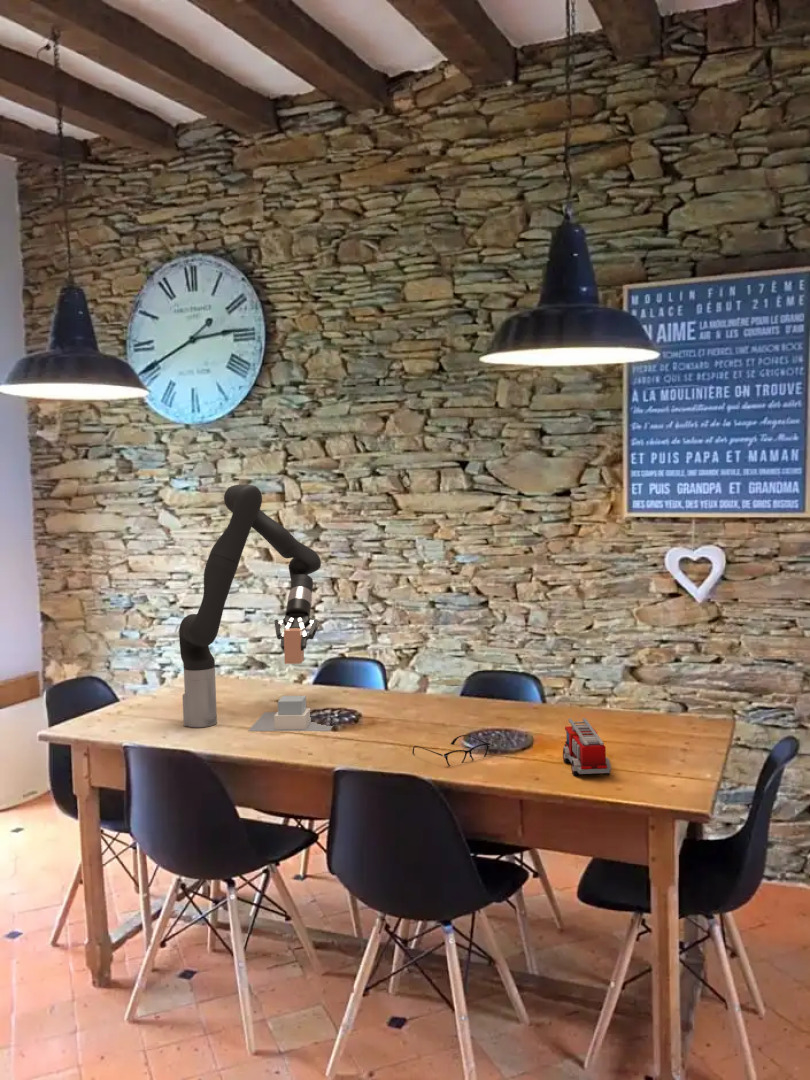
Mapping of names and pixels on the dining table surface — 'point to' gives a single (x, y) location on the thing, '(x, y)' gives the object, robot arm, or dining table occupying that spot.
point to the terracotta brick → (293, 646)
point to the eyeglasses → (459, 750)
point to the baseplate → (268, 725)
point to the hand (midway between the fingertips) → (292, 648)
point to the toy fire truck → (585, 750)
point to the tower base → (292, 721)
